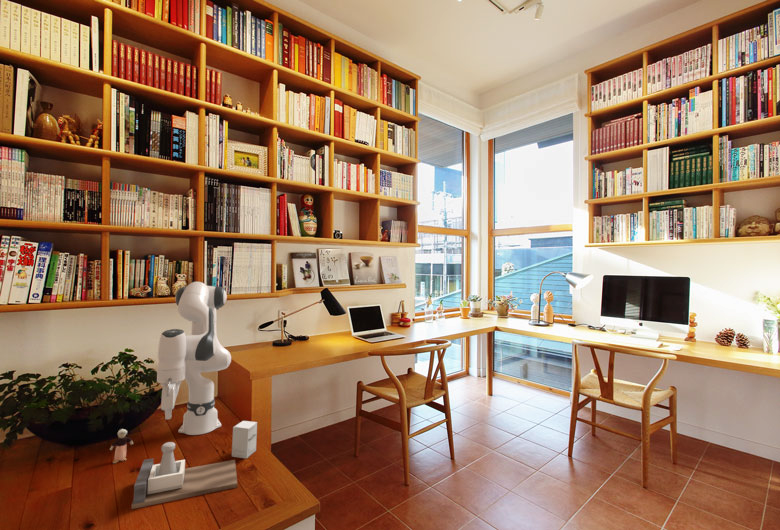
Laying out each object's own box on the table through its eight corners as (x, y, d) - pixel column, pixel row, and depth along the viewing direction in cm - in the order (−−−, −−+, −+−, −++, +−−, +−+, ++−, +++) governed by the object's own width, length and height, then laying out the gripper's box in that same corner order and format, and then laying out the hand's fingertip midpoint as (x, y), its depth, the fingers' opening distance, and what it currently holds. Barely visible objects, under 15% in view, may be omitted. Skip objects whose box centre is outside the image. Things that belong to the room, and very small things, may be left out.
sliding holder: (152, 478, 134) (152, 464, 134) (184, 472, 138) (185, 459, 138) (147, 494, 124) (148, 479, 124) (182, 487, 129) (182, 473, 129)
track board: (141, 480, 135) (142, 460, 136) (234, 463, 149) (235, 444, 149) (131, 509, 119) (132, 486, 119) (237, 487, 133) (238, 466, 133)
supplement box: (246, 459, 153) (248, 428, 153) (231, 456, 154) (232, 426, 155) (256, 450, 160) (257, 421, 160) (241, 448, 162) (242, 420, 162)
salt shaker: (180, 477, 133) (181, 441, 134) (166, 485, 128) (168, 448, 128) (167, 474, 135) (169, 439, 135) (153, 482, 129) (155, 445, 130)
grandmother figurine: (111, 465, 145) (112, 433, 145) (108, 462, 147) (109, 430, 148) (133, 458, 151) (135, 427, 151) (130, 455, 153) (131, 424, 154)
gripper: (178, 382, 124) (177, 423, 124) (183, 367, 143) (182, 403, 142) (156, 384, 121) (155, 426, 121) (164, 369, 140) (163, 405, 140)
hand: (169, 413), depth 132 cm, fingers open, 8 cm apart
